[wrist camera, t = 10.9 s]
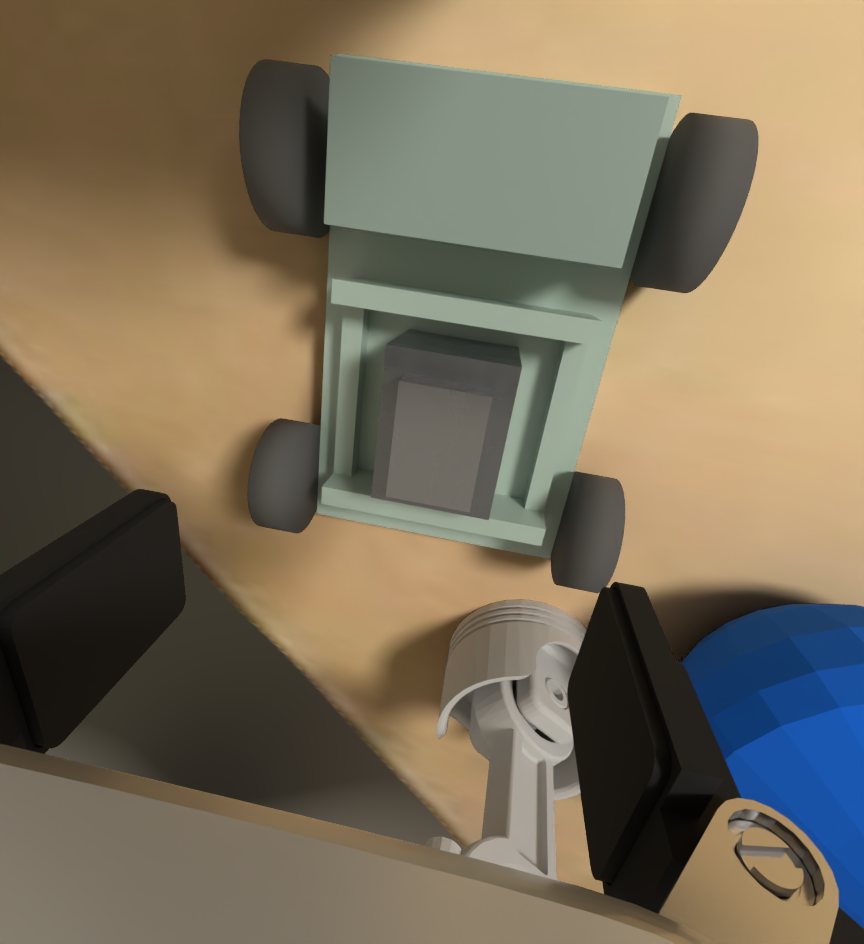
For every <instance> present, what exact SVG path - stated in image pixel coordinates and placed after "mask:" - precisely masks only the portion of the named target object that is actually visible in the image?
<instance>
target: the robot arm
mask: <svg viewBox="0 0 864 944" xmlns="http://www.w3.org/2000/svg"><path fill="white" fill-rule="evenodd" d="M185 598H186V595H185V586H184V576H183V567H182V557H181V546H180V537H179V527H178V517H177V508H176V505H175V503H173V502H171V500H170V498H169V496H168V495H166V494H164V493H159V492H154V491H149V490H144V489H137V490H135V491H133V492H132V493H130V494H128V495H127V496H125V497H124V498H122V499H120V500H119V501H117V502H116V503H114V504H112V505H111V506H109V507H108V508H106V509H105V510H103V511H101V512H100V513H98V514H97V515H95V516H94V517H92V518H90V519H89V520H87V521H85V522H84V523H82V524H81V525H79V526H77V527H76V528H74V529H73V530H71V531H69V532H68V533H66V534H65V535H63V536H61V537H60V538H58V539H57V540H55V541H54V542H52V543H50V544H49V545H47V546H46V547H44V548H42V549H41V550H39V551H38V552H36V553H35V554H33V555H31V556H30V557H28V558H27V559H25V560H23V561H22V562H20V563H18V564H17V565H15V566H14V567H12V568H11V569H9V570H7V571H6V572H4V573H3V574H1V575H0V944H864V929H863V928H862V927H861V926H860V925H859V924H858V923H857V922H855V921H854V920H853V919H852V918H851V917H850V916H849V915H847V914H846V913H845V912H844V911H843V910H842V909H841V908H840V907H839V890H838V887H837V884H836V881H835V878H834V875H833V872H832V870H831V868H830V867H829V865H828V863H827V862H826V860H825V858H824V857H823V855H822V853H821V852H820V851H819V849H818V848H817V847H816V846H815V845H814V843H813V842H812V841H811V840H810V839H809V837H808V836H807V835H806V834H805V833H804V832H803V831H802V830H800V829H799V828H798V827H797V826H796V825H795V824H794V823H793V822H791V821H790V820H789V819H788V818H786V817H785V816H783V815H782V814H780V813H779V812H777V811H775V810H774V809H772V808H771V807H769V806H766V805H764V804H761V803H759V802H757V801H754V800H749V799H742V798H741V796H740V793H739V791H738V789H737V786H736V784H735V782H734V779H733V777H732V775H731V772H730V770H729V768H728V766H727V763H726V761H725V759H724V756H723V754H722V752H721V749H720V747H719V745H718V742H717V740H716V738H715V736H714V733H713V731H712V729H711V726H710V724H709V722H708V719H707V717H706V715H705V712H704V710H703V708H702V705H701V703H700V701H699V699H698V696H697V694H696V692H695V689H694V687H693V685H692V682H691V680H690V678H689V675H688V673H687V671H686V669H685V668H684V666H683V664H681V663H680V662H679V661H676V660H674V657H673V655H672V653H671V650H670V648H669V645H668V643H667V641H666V638H665V636H664V633H663V631H662V629H661V626H660V624H659V621H658V619H657V616H656V614H655V612H654V609H653V607H652V604H651V602H650V600H649V597H648V595H647V592H646V590H645V589H644V588H643V587H639V586H634V585H629V584H623V583H618V582H614V583H613V584H612V585H611V587H610V588H607V587H603V588H602V589H601V591H600V594H599V597H598V599H597V602H596V605H595V608H594V611H593V614H592V616H591V619H590V622H589V625H588V628H587V630H586V633H585V636H584V639H583V642H582V644H581V647H580V650H579V653H578V656H577V659H576V661H575V664H574V667H573V670H572V673H571V675H570V678H569V682H568V690H567V696H568V705H569V712H570V719H571V727H572V734H573V741H574V749H575V756H576V763H577V771H578V778H579V785H580V792H581V800H582V807H583V814H584V822H585V829H586V836H587V844H588V851H589V858H590V866H591V871H592V874H593V877H594V878H595V879H596V880H600V881H602V882H603V889H604V894H602V893H598V892H595V891H592V890H589V889H586V888H583V887H580V886H576V885H572V884H568V883H565V882H561V881H557V880H554V879H550V878H546V877H542V876H539V875H535V874H531V873H527V872H524V871H520V870H516V869H512V868H509V867H505V866H501V865H498V864H494V863H490V862H486V861H483V860H479V859H475V858H471V857H467V856H463V855H459V854H455V853H451V852H447V851H443V850H439V849H435V848H431V847H427V846H423V845H418V844H414V843H410V842H406V841H402V840H398V839H394V838H390V837H386V836H382V835H378V834H374V833H370V832H366V831H362V830H357V829H353V828H350V827H346V826H342V825H337V824H334V823H330V822H326V821H322V820H318V819H313V818H309V817H305V816H301V815H297V814H293V813H289V812H285V811H280V810H276V809H272V808H268V807H264V806H260V805H256V804H251V803H247V802H243V801H239V800H235V799H231V798H227V797H223V796H218V795H214V794H210V793H206V792H201V791H197V790H194V789H190V788H185V787H181V786H177V785H172V784H169V783H164V782H160V781H156V780H152V779H148V778H144V777H139V776H135V775H131V774H126V773H122V772H118V771H114V770H110V769H106V768H101V767H97V766H93V765H88V764H84V763H80V762H76V761H71V760H67V759H63V758H58V757H55V756H50V755H46V754H45V752H46V751H47V750H48V749H49V748H54V747H56V746H58V745H60V744H61V743H62V742H63V741H64V740H65V739H66V738H67V737H68V736H69V734H70V733H71V732H72V731H73V730H74V729H75V728H76V727H77V726H78V725H79V724H80V723H81V722H82V720H83V719H84V718H85V717H86V716H87V715H88V714H89V713H90V712H91V711H92V710H93V708H94V707H95V706H96V705H97V704H98V703H99V702H100V701H101V700H102V699H103V698H104V696H105V695H106V694H107V693H108V692H109V691H110V690H111V689H112V688H113V687H114V686H115V684H116V683H117V682H118V681H119V680H120V679H121V678H122V677H123V676H124V674H125V673H126V672H127V671H128V670H129V669H130V668H131V667H132V666H133V665H134V663H136V661H137V660H138V659H139V658H140V657H141V656H142V655H143V654H144V653H145V652H146V651H147V649H148V648H149V647H150V646H151V645H152V644H153V643H154V642H155V641H156V640H157V638H158V637H159V636H160V635H161V634H162V633H163V632H164V631H165V630H166V629H167V628H168V626H169V625H170V624H171V623H172V622H173V621H174V620H175V619H176V618H177V617H178V615H179V614H180V613H181V612H182V610H183V608H184V605H185V600H186V599H185Z"/></svg>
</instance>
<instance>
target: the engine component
mask: <svg viewBox="0 0 864 944" xmlns="http://www.w3.org/2000/svg"><path fill="white" fill-rule="evenodd" d="M585 633H586V629H585V627H584V626H583V625H582V624H581V623H580V622H579V621H578V620H577V619H575V618H574V617H572V616H571V615H570V614H568V613H567V612H565V611H563V610H561V609H559V608H557V607H555V606H552V605H549V604H546V603H542V602H538V601H533V600H523V599H520V600H504V601H500V602H495V603H491V604H489V605H486V606H484V607H481V608H479V609H477V610H476V611H474V612H472V613H471V614H469V615H468V616H467V617H466V618H465V619H464V620H463V621H462V622H461V623H460V624H459V625H458V626H457V628H456V630H455V631H454V633H453V635H452V638H451V641H450V645H449V652H448V659H447V666H446V670H445V677H444V684H443V691H442V698H441V705H440V712H439V719H438V726H437V738H438V739H439V738H441V737H442V736H444V735H445V734H446V731H447V726H448V719H449V716H452V717H453V718H455V719H456V720H457V721H459V722H460V723H461V724H462V725H463V726H464V727H465V728H466V729H468V730H469V731H470V739H471V742H472V745H473V746H474V748H475V749H476V751H477V752H478V753H480V754H481V755H482V756H484V757H485V758H486V759H488V760H489V761H490V762H489V772H488V781H487V791H486V800H485V810H484V819H483V829H482V838H481V839H480V840H478V841H476V842H474V843H472V844H471V845H469V846H467V847H465V848H463V849H462V850H461V848H460V847H459V846H458V844H457V843H455V842H454V841H452V840H450V839H447V838H444V837H433V838H431V839H429V840H428V841H427V843H426V846H427V847H431V848H435V849H439V850H443V851H447V852H451V853H455V854H459V855H463V856H467V857H471V858H475V859H479V860H483V861H486V862H490V863H494V864H498V865H501V866H505V867H509V868H512V869H516V870H520V871H524V872H527V873H531V874H535V875H539V876H542V877H546V878H550V879H554V880H557V881H558V879H557V876H556V860H555V823H554V801H555V800H561V799H565V798H569V797H572V796H575V795H578V794H580V793H581V792H580V785H579V778H578V771H577V763H576V756H575V749H574V741H573V734H572V727H571V719H570V712H569V705H568V696H567V690H568V682H569V678H570V675H571V673H572V670H573V667H574V664H575V661H576V659H577V656H578V653H579V650H580V647H581V644H582V642H583V639H584V636H585Z"/></svg>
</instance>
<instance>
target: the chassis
mask: <svg viewBox="0 0 864 944" xmlns="http://www.w3.org/2000/svg"><path fill="white" fill-rule="evenodd" d="M681 96H682V95H674V94H666V93H658V92H650V91H642V90H634V89H625V88H617V87H609V86H601V85H593V84H585V83H576V82H568V81H560V80H552V79H544V78H536V77H527V76H519V75H511V74H503V73H495V72H487V71H478V70H470V69H462V68H454V67H446V66H438V65H429V64H421V63H413V62H405V61H397V60H389V59H380V58H372V57H364V56H356V55H348V54H340V53H337V56H331V59H330V79H329V77H328V75H327V73H326V72H325V71H324V70H323V69H322V68H321V67H319V66H314V65H306V64H298V63H290V62H282V61H274V60H261V61H259V62H257V63H256V64H255V65H254V66H253V68H252V70H251V71H250V73H249V75H248V78H247V80H246V83H245V87H244V90H243V95H242V101H241V109H240V122H239V137H240V152H241V161H242V168H243V174H244V178H245V183H246V187H247V190H248V194H249V197H250V200H251V202H252V205H253V207H254V209H255V212H256V213H257V215H258V217H259V218H260V220H261V221H262V223H263V224H264V225H265V226H266V227H267V228H269V229H270V230H273V231H278V232H285V233H291V234H298V235H304V236H311V237H317V238H319V237H323V236H324V235H326V234H327V233H328V231H329V230H330V231H329V253H328V275H327V298H326V320H325V342H324V365H323V387H322V409H321V426H320V425H316V424H310V423H305V422H299V421H294V420H288V419H281V418H280V419H277V420H275V421H274V422H272V423H271V424H270V425H269V426H268V428H267V429H266V430H265V432H264V433H263V435H262V437H261V439H260V441H259V443H258V445H257V448H256V450H255V453H254V456H253V460H252V464H251V468H250V473H249V480H248V507H249V512H250V515H251V518H252V520H253V521H254V522H255V524H256V525H258V526H262V527H267V528H272V529H277V530H282V531H287V532H292V533H300V532H302V531H303V530H304V529H305V528H306V527H307V526H308V525H309V523H310V522H311V520H312V518H313V516H314V514H315V512H316V509H317V514H321V515H326V516H331V517H336V518H341V519H346V520H351V521H356V522H362V523H367V524H372V525H377V526H382V527H387V528H392V529H398V530H403V531H408V532H413V533H418V534H423V535H428V536H433V537H439V538H444V539H449V540H454V541H459V542H464V543H469V544H475V545H480V546H485V547H490V548H495V549H500V550H505V551H510V552H516V553H521V554H526V555H531V556H536V557H541V558H546V559H550V556H551V572H552V578H553V581H554V583H555V584H556V585H559V586H564V587H569V588H574V589H579V590H584V591H589V592H594V593H599V592H600V591H601V589H602V588H603V587H606V586H607V585H608V583H609V581H610V579H611V577H612V575H613V573H614V570H615V568H616V565H617V561H618V558H619V554H620V550H621V545H622V540H623V533H624V524H625V499H624V493H623V489H622V486H621V484H620V482H619V481H618V480H617V479H614V478H609V477H603V476H598V475H592V474H587V473H581V472H575V468H576V464H577V461H578V457H579V454H580V450H581V447H582V443H583V440H584V436H585V433H586V429H587V426H588V422H589V419H590V415H591V412H592V408H593V405H594V401H595V398H596V394H597V391H598V387H599V384H600V380H601V377H602V373H603V370H604V366H605V363H606V359H607V356H608V352H609V349H610V345H611V342H612V338H613V335H614V331H615V328H616V324H617V321H618V317H619V314H620V310H621V307H622V303H623V300H624V296H625V293H626V289H627V286H628V282H629V279H630V275H631V280H632V283H633V284H634V285H635V286H641V287H647V288H654V289H660V290H667V291H674V292H680V293H689V292H691V291H693V290H694V289H696V288H697V287H698V286H699V285H700V284H701V283H702V282H703V281H704V280H705V279H706V278H707V276H708V275H709V274H710V272H711V271H712V270H713V268H714V267H715V265H716V264H717V262H718V260H719V259H720V257H721V255H722V254H723V252H724V250H725V248H726V246H727V244H728V243H729V240H730V238H731V236H732V234H733V232H734V230H735V228H736V225H737V223H738V221H739V218H740V216H741V213H742V210H743V208H744V205H745V202H746V199H747V196H748V193H749V190H750V186H751V183H752V179H753V175H754V171H755V166H756V160H757V154H758V131H757V128H756V125H755V123H754V122H753V121H751V120H747V119H739V118H731V117H723V116H715V115H707V114H699V113H689V114H687V115H686V116H685V117H684V118H683V119H682V120H681V121H680V122H679V124H678V125H677V127H676V128H675V130H674V131H673V133H672V135H671V131H672V128H673V124H674V121H675V117H676V114H677V110H678V107H679V103H680V100H681ZM670 135H671V136H670ZM409 329H411V330H417V331H423V332H429V333H435V334H441V335H447V336H453V337H459V338H465V339H471V340H477V341H483V342H489V343H495V344H501V345H507V346H513V347H519V351H520V358H521V364H522V370H521V374H520V379H519V384H518V388H517V393H516V397H515V402H514V407H513V411H512V416H511V420H510V425H509V429H508V434H507V439H506V443H505V448H504V452H503V457H502V462H501V466H500V471H499V475H498V480H497V485H496V489H495V494H494V498H493V503H492V508H491V512H490V517H489V520H485V519H480V518H475V517H469V516H464V515H459V514H454V513H449V512H444V511H438V510H433V509H428V508H423V507H418V506H412V505H407V504H402V503H397V502H392V501H387V500H381V499H376V498H371V492H372V482H373V472H374V462H375V452H376V442H377V432H378V422H379V412H380V402H381V392H382V382H383V371H384V361H385V351H386V344H388V343H389V342H391V341H392V340H394V339H395V338H397V337H398V336H400V335H401V334H403V333H404V332H406V331H407V330H409Z"/></svg>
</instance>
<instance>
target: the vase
mask: <svg viewBox="0 0 864 944" xmlns="http://www.w3.org/2000/svg"><path fill="white" fill-rule="evenodd" d="M681 664H683V666H684V668H685V669H686V671H687V673H688V675H689V678H690V680H691V682H692V685H693V687H694V689H695V692H696V694H697V696H698V699H699V701H700V703H701V705H702V708H703V710H704V712H705V715H706V717H707V719H708V722H709V724H710V726H711V729H712V731H713V733H714V736H715V738H716V740H717V742H718V745H719V747H720V749H721V752H722V754H723V756H724V759H725V761H726V763H727V766H728V768H729V770H730V772H731V775H732V777H733V779H734V782H735V784H736V786H737V789H738V791H739V793H740V796H741V798H742V799H749V800H754V801H757V802H759V803H761V804H764V805H766V806H769V807H771V808H772V809H774V810H775V811H777V812H779V813H780V814H782V815H783V816H785V817H786V818H788V819H789V820H790V821H791V822H793V823H794V824H795V825H796V826H797V827H798V828H799V829H800V830H802V831H803V832H804V833H805V834H806V835H807V836H808V837H809V839H810V840H811V841H812V842H813V843H814V845H815V846H816V847H817V848H818V849H819V851H820V852H821V853H822V855H823V857H824V858H825V860H826V862H827V863H828V865H829V867H830V868H831V870H832V872H833V875H834V878H835V881H836V884H837V887H838V890H839V907H840V908H841V909H842V910H843V911H844V912H845V913H846V914H847V915H849V916H850V917H851V918H852V919H853V920H854V921H855V922H857V923H858V924H859V925H860V926H861V927H862V928H863V929H864V607H862V606H857V605H840V604H788V605H783V606H778V607H773V608H767V609H762V610H757V611H754V612H752V613H749V614H747V615H744V616H742V617H739V618H737V619H735V620H732V621H730V622H727V623H725V624H724V625H722V626H721V627H719V628H718V629H716V630H715V631H713V632H712V633H710V634H709V635H707V636H706V637H704V638H703V639H702V640H701V641H700V642H699V643H698V644H697V645H696V646H695V647H694V649H693V650H692V651H691V652H690V653H689V654H688V655H687V656H686V657H685V659H684V660H683V661H682V663H681Z"/></svg>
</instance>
